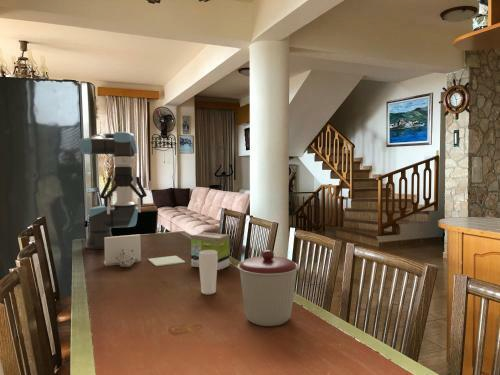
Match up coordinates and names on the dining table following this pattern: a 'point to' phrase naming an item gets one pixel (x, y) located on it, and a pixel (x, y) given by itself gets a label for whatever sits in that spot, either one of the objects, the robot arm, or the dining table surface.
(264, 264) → the canister
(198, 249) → the tea box
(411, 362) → the dining table surface
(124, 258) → the game die
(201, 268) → the drinking glass
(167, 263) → the tile
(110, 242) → the screen
